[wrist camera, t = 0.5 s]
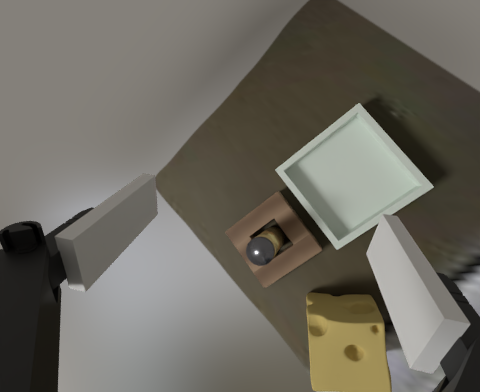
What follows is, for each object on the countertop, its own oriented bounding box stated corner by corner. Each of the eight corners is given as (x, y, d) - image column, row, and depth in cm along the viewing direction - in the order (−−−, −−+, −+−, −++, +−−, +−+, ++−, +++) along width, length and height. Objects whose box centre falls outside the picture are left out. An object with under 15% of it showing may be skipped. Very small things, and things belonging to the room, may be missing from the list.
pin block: (322, 247, 44) (322, 250, 42) (267, 283, 47) (264, 288, 45) (279, 191, 46) (277, 191, 44) (229, 229, 49) (224, 231, 47)
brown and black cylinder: (289, 240, 46) (279, 255, 36) (271, 253, 47) (257, 271, 37) (275, 222, 47) (262, 231, 36) (258, 235, 48) (240, 247, 37)
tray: (424, 187, 40) (434, 187, 36) (335, 245, 44) (337, 249, 40) (356, 109, 42) (359, 102, 39) (278, 171, 46) (275, 169, 43)
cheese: (306, 290, 46) (303, 317, 36) (374, 292, 42) (390, 321, 33) (312, 350, 45) (310, 392, 36) (380, 356, 42) (398, 404, 33)
